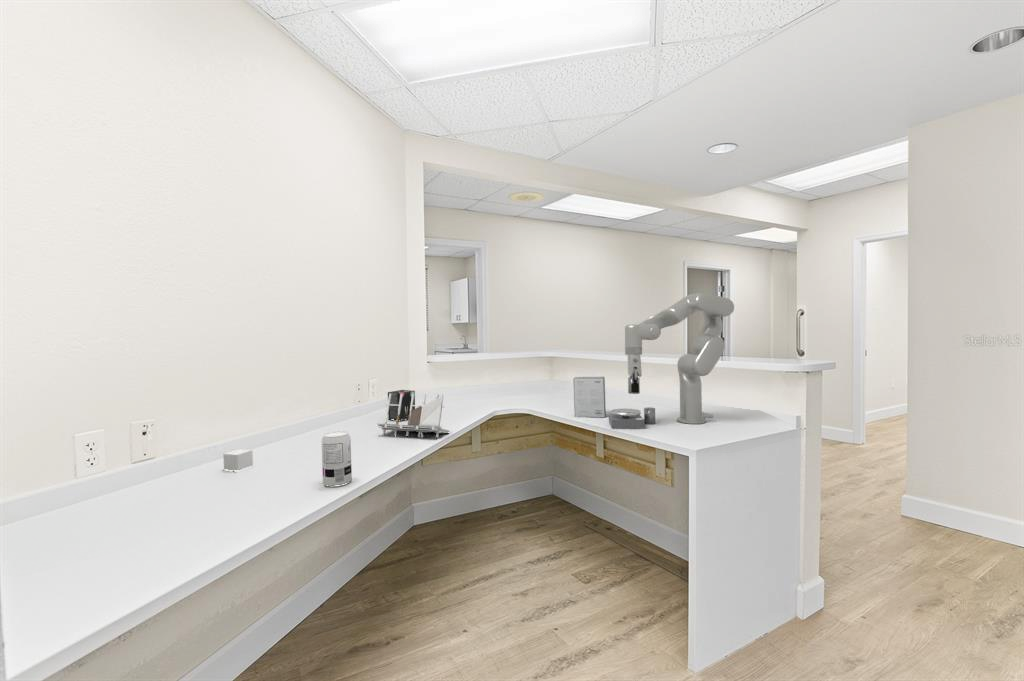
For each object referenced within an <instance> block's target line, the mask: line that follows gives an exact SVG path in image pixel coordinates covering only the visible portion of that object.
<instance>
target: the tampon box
mask: <svg viewBox="0 0 1024 681" xmlns="http://www.w3.org/2000/svg"><path fill="white" fill-rule="evenodd" d="M389 393H391V400H390V404H397V405H399V401H400V394H403V396H402V403H401V410H400V416H399V420H405V419H409V412H410V405H411V399H412V394H414V401H413V405H416V391H415V390H411V389H410V390H409V389H399V390H395V391H387V399H388V398H389ZM398 407H399V406H389V413H388V420H389V419H394V420H397V414H398ZM414 409H416V406H413V407H412V410H414ZM405 421H406V420H405Z"/></svg>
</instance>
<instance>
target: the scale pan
mask: <svg viewBox="0 0 1024 681" xmlns="http://www.w3.org/2000/svg"><path fill="white" fill-rule="evenodd" d="M610 412H611V413H610V414H614V415H619V416H622V417H629V416H636V415H640V416H641V410H639V409H635V408H614V409H611V411H610Z"/></svg>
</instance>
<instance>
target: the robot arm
mask: <svg viewBox="0 0 1024 681" xmlns="http://www.w3.org/2000/svg"><path fill="white" fill-rule="evenodd" d="M734 310H735V304H734V302H733V301H732V300H731V299H730V298H728V297H724V296H720V295H715V294H711V293H708V292H697V293H695V292H694V293H691V294H688V295H686V296H685V297H683V298H682V299H680V300H678V301H677V302H675V303H674V304H672V305H671V306H669V307H667V308H666V309H663V310H661V311H660V312H658V313H656V314H653V315H652V316H650V317H648V318H646V319H644V321H641V322H640V323H638V324H637V323H636V324H633V323H632V324H631V323H630V324H626V325H625V326H624V354H625V355H626V356H627V373H628V376H629V377H632V383H631V392H639V383H638V377H639V378H640V377H642V359H641V356H643V341H654V340H657V339H659V338H660V337H661V333H662V330H661V329H664V328H668V327H672V326H676V325H678V324H680V323H681V322H683V321H685V320H686V319H688V318H689V317H690V316H692V315H693V314H695V313H696V312H697V313H698V312H701V313H702V316H703V319H704V323H703V326H702V327H701V329H700V331H699V332H698V333H697V335H696V337H695V338H694V339H693V342H692V344H691V350H692V351H693V353H694V354H693V353H686V354H683V355H681V356H680V357H679V359H678V360H677V363H676V366H677V372H678V376H679V416H677V418H676V422H678V423H681V424H689V425H691V424H692V425H697V424H699V425H701V424H705V423H706V419H707V418H708V419H712V418H714V414H713V413H705V412H703V407H702V406H703V403H702V400H703V399H702V398H703V396H702V392H703V391H702V386H703V385H702V380H701V377H705V376H708V375H709V374H710V373H712V371H713V369H714V368H715V366H716V365H717V364H718V362H719V361H720V358H721V357H722V356H723V354H724V351H725V346H726V345H725V341H724V340H723V338H722V337H720V336H721V335H722V332H723V328H724V326H723V320H722V318H725V317H729V316H730V315H732V314H733V313H734ZM633 378H634V379H633Z"/></svg>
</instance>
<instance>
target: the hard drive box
mask: <svg viewBox="0 0 1024 681" xmlns="http://www.w3.org/2000/svg"><path fill="white" fill-rule="evenodd" d="M605 379H606V378H605V376H574V377H573V379H572V380H573V402H574V403H573V404H574V407H573V408H574V409H573V410H574V417H575V416H577V417H576V418H605V417H606V416H607V412H606V411H607V409H606V385H605V384H606V383H605V382H606V380H605Z"/></svg>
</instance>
